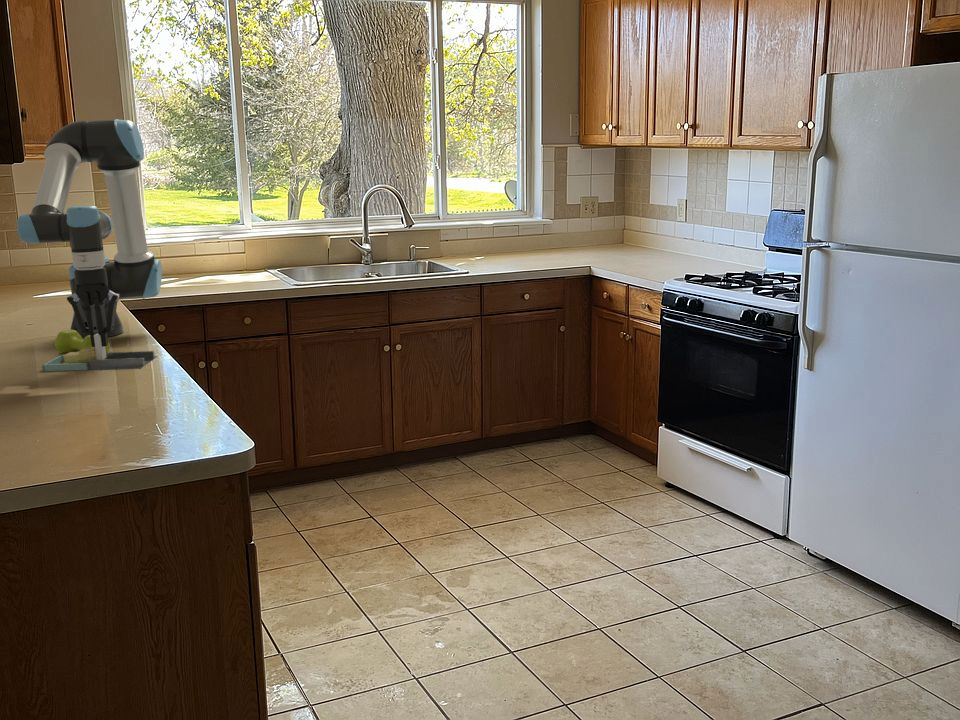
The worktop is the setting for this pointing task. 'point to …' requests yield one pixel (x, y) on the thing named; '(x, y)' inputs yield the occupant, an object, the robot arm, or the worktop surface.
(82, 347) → the dumbbell
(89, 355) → the wooden cube
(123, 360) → the slot board
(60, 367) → the tray
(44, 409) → the worktop surface
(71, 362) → the wooden block
